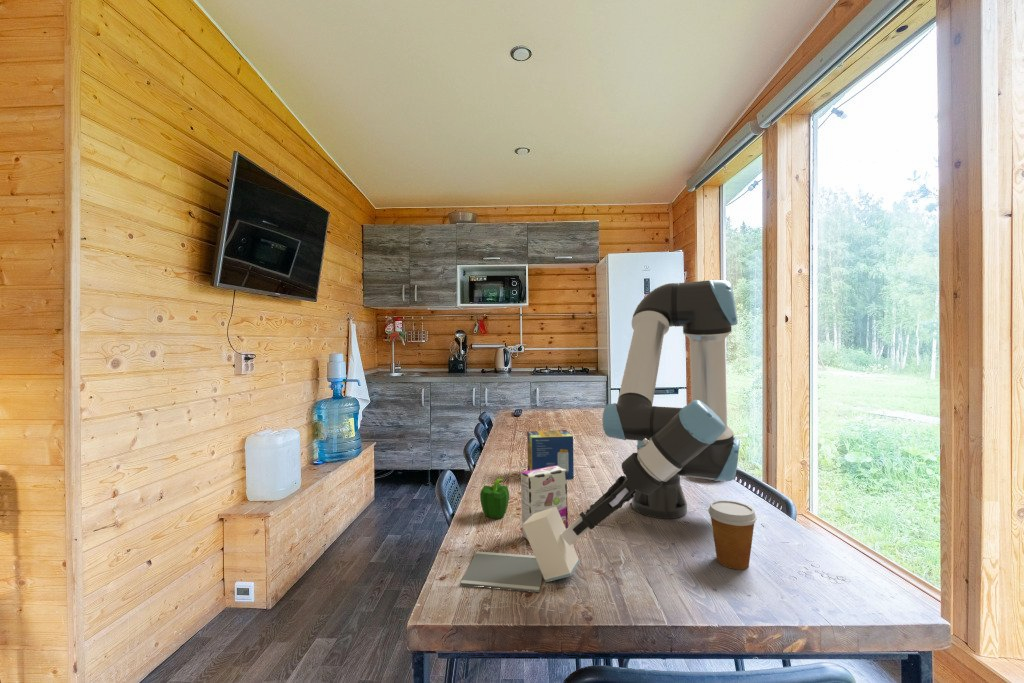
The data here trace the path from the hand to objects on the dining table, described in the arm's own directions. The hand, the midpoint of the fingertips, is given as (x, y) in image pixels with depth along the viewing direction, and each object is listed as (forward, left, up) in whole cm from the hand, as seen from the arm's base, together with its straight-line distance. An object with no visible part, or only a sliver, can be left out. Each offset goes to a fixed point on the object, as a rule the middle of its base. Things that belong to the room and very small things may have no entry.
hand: (566, 538), depth 88 cm
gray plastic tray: (+13, -1, -8) cm, 15 cm away
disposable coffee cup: (-36, -12, -9) cm, 38 cm away
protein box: (+9, -67, -9) cm, 69 cm away
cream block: (+1, 0, -7) cm, 7 cm away
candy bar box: (+6, -19, -9) cm, 22 cm away
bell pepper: (+21, -29, -9) cm, 37 cm away
